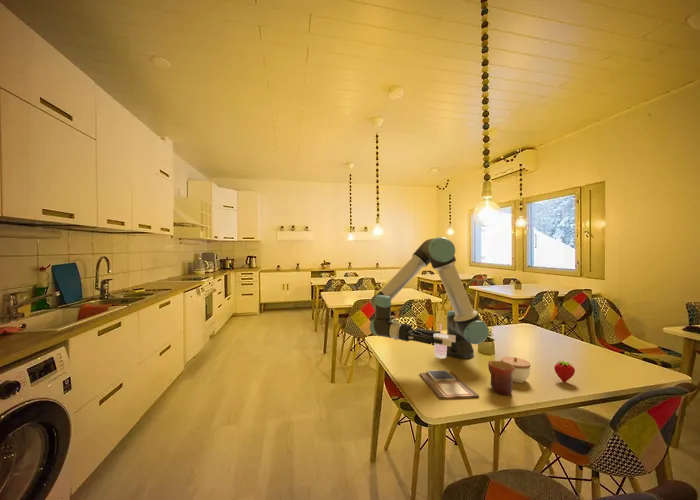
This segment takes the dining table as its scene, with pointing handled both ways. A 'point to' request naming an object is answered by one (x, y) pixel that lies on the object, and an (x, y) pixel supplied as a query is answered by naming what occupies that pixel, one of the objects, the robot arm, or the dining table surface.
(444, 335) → the beverage cup
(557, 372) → the strawberry
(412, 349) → the dining table surface
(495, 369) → the mug
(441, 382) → the stamp board
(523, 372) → the lidded jar
